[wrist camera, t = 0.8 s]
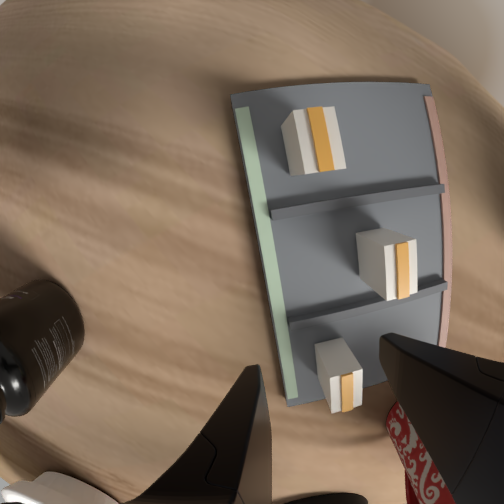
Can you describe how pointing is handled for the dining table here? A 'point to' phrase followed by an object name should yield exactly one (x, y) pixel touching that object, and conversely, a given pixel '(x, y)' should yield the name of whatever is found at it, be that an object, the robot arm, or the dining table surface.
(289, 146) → the block
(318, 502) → the lamp
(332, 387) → the block
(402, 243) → the block
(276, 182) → the panel
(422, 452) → the mug
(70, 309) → the supplement bottle
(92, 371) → the dining table surface
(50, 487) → the bowl
